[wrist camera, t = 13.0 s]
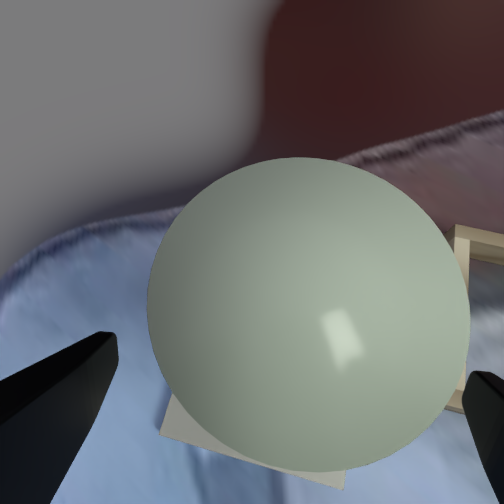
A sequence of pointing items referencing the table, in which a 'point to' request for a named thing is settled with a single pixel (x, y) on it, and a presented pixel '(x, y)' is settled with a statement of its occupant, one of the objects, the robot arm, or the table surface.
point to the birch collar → (464, 247)
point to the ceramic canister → (308, 314)
